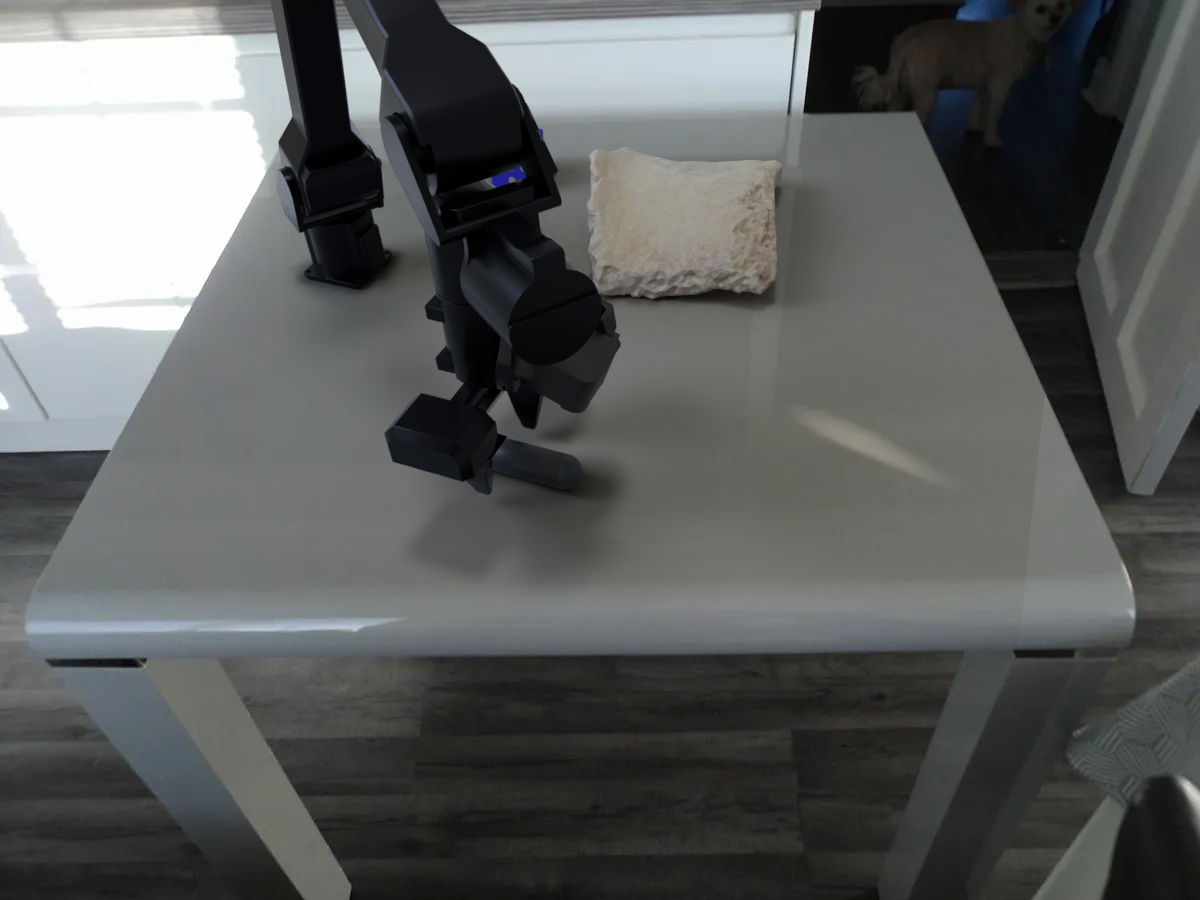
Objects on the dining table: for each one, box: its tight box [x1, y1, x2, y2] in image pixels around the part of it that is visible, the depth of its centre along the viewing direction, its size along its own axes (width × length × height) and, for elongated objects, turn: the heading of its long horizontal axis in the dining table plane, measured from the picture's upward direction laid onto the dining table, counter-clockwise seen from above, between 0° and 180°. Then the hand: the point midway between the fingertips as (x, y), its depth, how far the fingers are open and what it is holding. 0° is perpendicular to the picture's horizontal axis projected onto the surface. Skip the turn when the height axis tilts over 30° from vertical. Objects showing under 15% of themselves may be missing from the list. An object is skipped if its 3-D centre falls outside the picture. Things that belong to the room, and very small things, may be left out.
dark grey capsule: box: [492, 437, 584, 490], centre depth 68 cm, size 12×3×3 cm, turn 67°
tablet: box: [586, 147, 784, 300], centre depth 89 cm, size 24×8×20 cm
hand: (508, 458), depth 68 cm, fingers open, 7 cm apart
